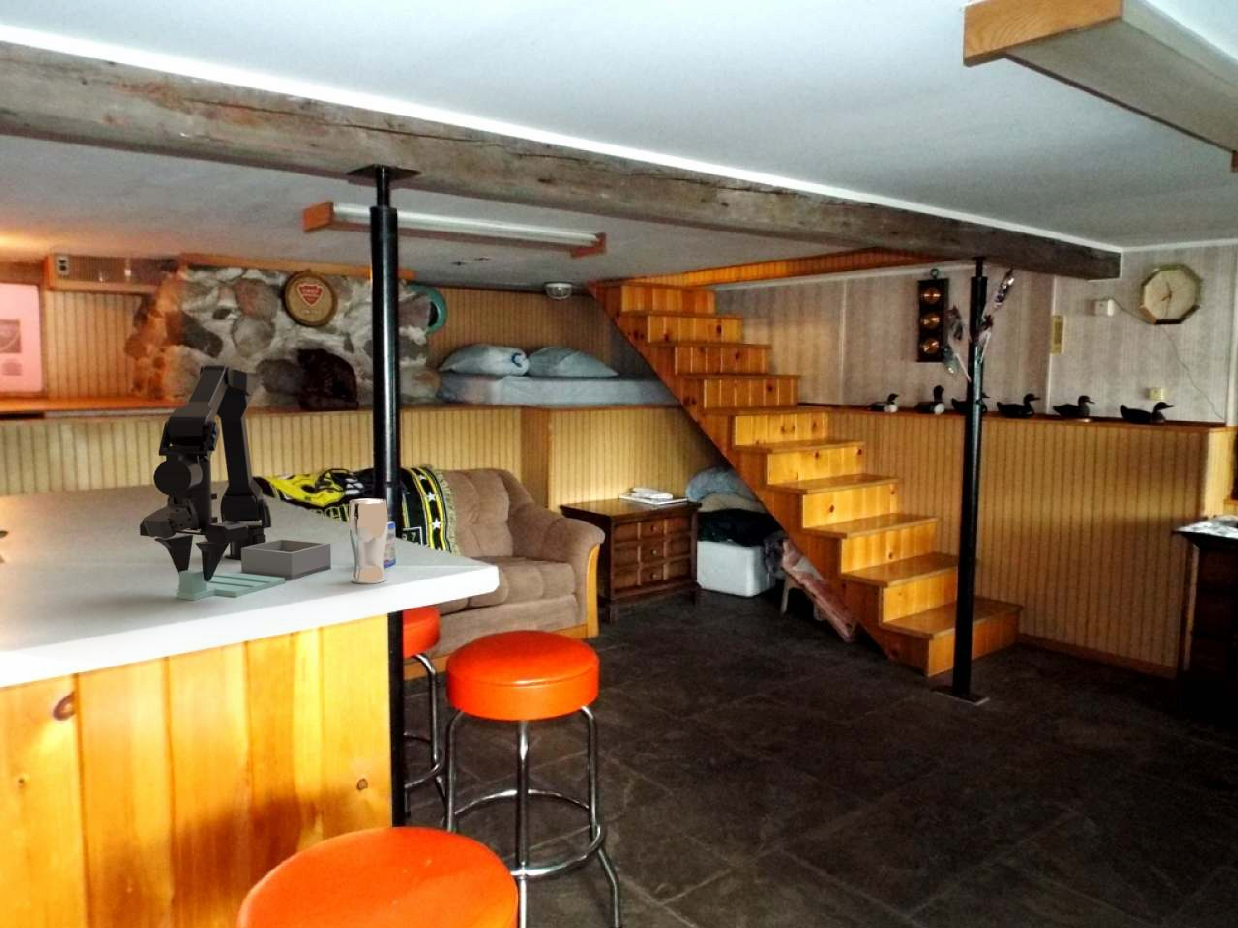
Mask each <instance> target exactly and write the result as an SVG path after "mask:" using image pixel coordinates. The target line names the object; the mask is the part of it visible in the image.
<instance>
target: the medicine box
mask: <svg viewBox="0 0 1238 928" xmlns="http://www.w3.org/2000/svg"><path fill="white" fill-rule="evenodd" d="M396 548H397V546H396V523H395V521H388V530H387V538H386V544H385V550H384V559H383V563H384V569H386V568H388V567H391V566H392V565H395V564H396V561H397V559H396V556H397V555H396V551H397V549H396ZM387 566H388V567H387ZM385 567H386V568H385Z"/></svg>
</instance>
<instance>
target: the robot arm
mask: <svg viewBox="0 0 1238 928" xmlns="http://www.w3.org/2000/svg"><path fill="white" fill-rule="evenodd" d="M254 391H255V385H254V379H253V377H252V376H250V375H249V373H247V372H245V371H241V370H238V369H234V368H233V366H231V365H227V364H205V365H202V366H201V367H200V371H199V379H198V381H197V382H196V384H195V386H194V388H193V391H192V393H191V395H190V396H189V399H188V400H187V403H186V404H184V405H182V406H179V407H178V408H176V409H174V410H173V411H172V413H171V414H170V416H169V417H168V419H167V420H166V421H165V423H164V425H163V431H162V433H161V439H160V444H159V449H158V456H159V457H165V461H162V462H161V463H159V464H158V465H157V466H156V469H155V470H154V473H153V474H152V475H153V476H152V477H153V478H152V479H153V483H154V486H155V487H156V489H157V490H158V491H160V493H162V494H164V495H165V496H168V497H167V502H166V503H167V504H166V506H163V507H161V508H159V509H158V510H155V511H154V512H152V513H151V514H149V515H147V516H145V518H143V520H142V521H141V522H140V524H139V536H142V537H149V538H153V539H154V541H155V542H157V543H159V544H161V545H162V546H163V547H165V548H166V550H167V551H168V553H169V555H170V558H171V559H172V562H173V565H174V567H175V569H176V572H177V574H178V575H179V572H181V571H186V570H189V568H190V562H191V561H190V559H191V553H192V547H193V539H194V535H195V536H196V535H197V536H203V537H204V538H203V539H204V541H201V542H200V541H199V542H195V545H196V547H197V548H198V549H199V550H200V551H201V560H202V561H201V562H202V563H201V564H202V570H203V575H204V580H205V581H209V580H211V579H212V576H213V574H215V572H216V570H217V567H218V566H219V564H220V561H221V559H222V558H223V555H224V554H225V551H226V550H228V547H229V551H230V552H229V553H227V554H225V555H224V558H229V559H234V560H235V559H238V560H241V548H244V547H248V546H252V545H257V544H261V543H266V542H267V541H266V539H267V538H266V534H265V529H268V528H272V516H271V511H270V506H269V505H268V502H267V500H266V499H265V498H264V493H263V492H264V491H263V489H262V487H261V486H260V485H259V484H258V482H257V481H256V480H255V479H254V478H253V471H252V463H251V454H250V453H251V452H250V446H249V445H250V444H249V436H248V429H247V428H248V427H247V419H246V411H247V409H248V407H249V406H250V404H251V402H252V400H253V396H254V393H255V392H254ZM216 416H217V417H218V418H219V419H220V425H221V434H222V440H223V441H222V442H223V451H224V458H225V464H226V465H225V467H226V473H227V474H226V475H227V482H228V486H227V488H226V489H225V492H224V494H223V495H222V497H221V500H220V506H219V507H220V517H221V518H220V519H221V522H218V518H219V517H218V516H213V503H212V500H214V501H215V500H217V499H218V494H217V492H212V471H211V469H212V468H211V467H212V465H211V463H212V462H211V458H212V454H213V452H215V451H216V448H217V444H218V440H219V436H220V428H219V426H218V424H217V421H216V418H215V417H216Z"/></svg>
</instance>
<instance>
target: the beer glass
mask: <svg viewBox="0 0 1238 928" xmlns="http://www.w3.org/2000/svg"><path fill="white" fill-rule="evenodd" d="M348 509H349V511H348V512H349V513H348V532H349V539H350V543H351V545H350V546H351V549H352V553H353V571H352V578H351V581H352V582H353V583H355V584H360V585H363V584H364V585H368V584H369V585H370V584H371V585H372V584H378V583H383V582H385V581H386V579H387V576H386V572H385V568H384V563H383V559H384V550H385V544H386V538H387V530H388V522H389V521H388V520H389V517H388V507H387V499H385V498H372V497H371V498H370V497H369V498H357V499H356V498H355V499H351V500H350V501H349V508H348Z"/></svg>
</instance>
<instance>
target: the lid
mask: <svg viewBox="0 0 1238 928" xmlns="http://www.w3.org/2000/svg"><path fill="white" fill-rule="evenodd" d="M283 584H286V579H285V578H277V577H268V576H259V575H250V574H242V573H239V572H230V571H229V572H225V573H221V574H216V573H214V574H213V576H212V579H211V580H209V581H205V580H204V575H203V569H196V568H192V569H191V568H190V569H188V570H186V571H181V572H179V574H178V585H177V589H178V591H177V592H176V598H177V599H182V600H188V601H189V600H190V601H198V600H202V599H205V598H209V597H213V596H222V597H231V598H240V597H242V596H243V597H244V596H246V595H250V594H253V593H255V592H256V593H257V592H259V591H263V590H266V589H270V588H273V587H276V586H280V585H283Z"/></svg>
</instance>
